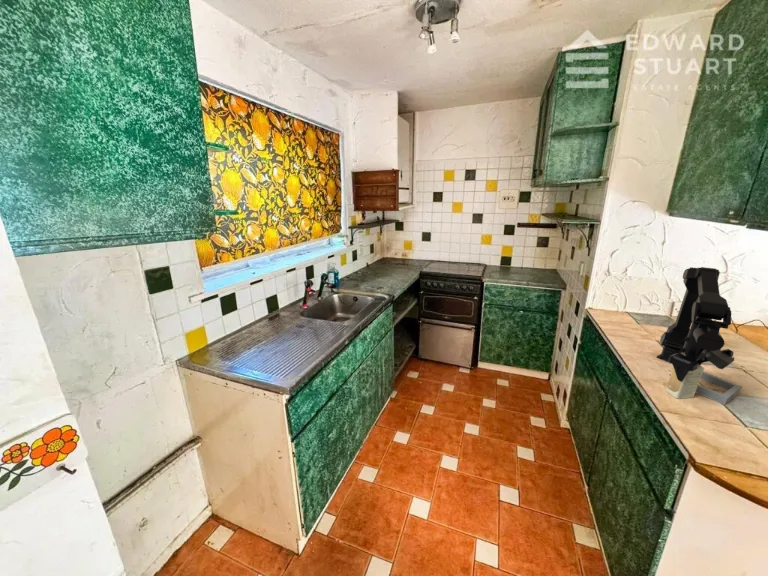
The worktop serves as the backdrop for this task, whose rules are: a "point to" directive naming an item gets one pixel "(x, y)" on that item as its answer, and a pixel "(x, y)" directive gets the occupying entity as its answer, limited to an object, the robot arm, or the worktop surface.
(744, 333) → the worktop surface
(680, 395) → the skincare box
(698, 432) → the worktop surface
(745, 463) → the worktop surface
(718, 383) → the holder
